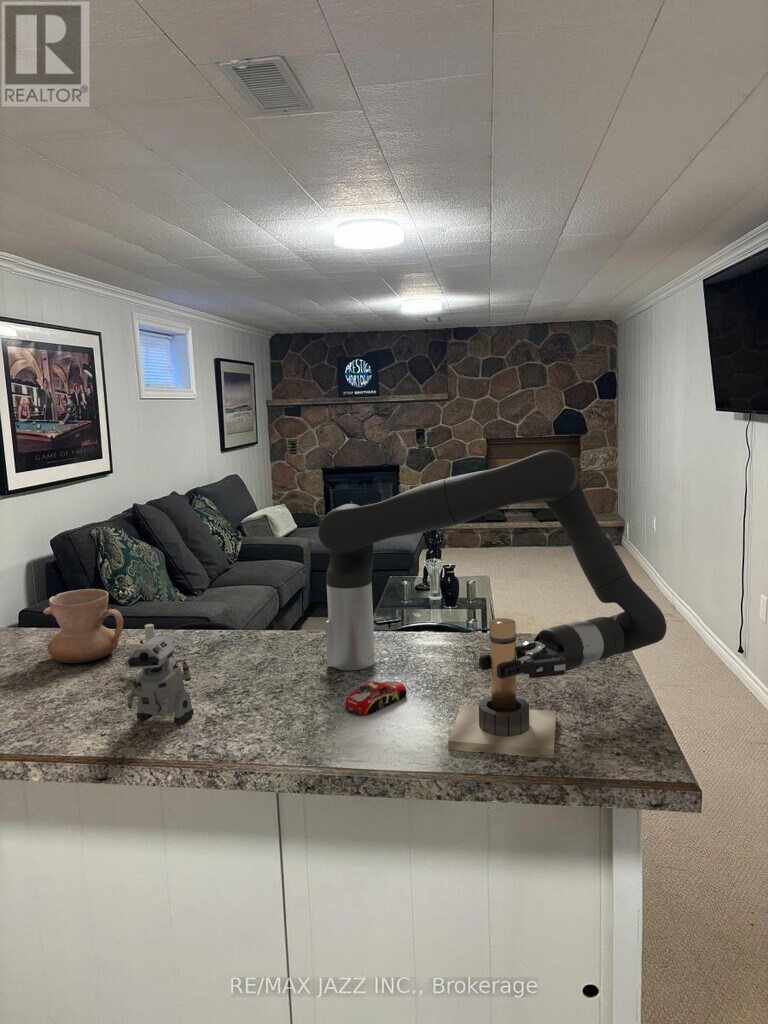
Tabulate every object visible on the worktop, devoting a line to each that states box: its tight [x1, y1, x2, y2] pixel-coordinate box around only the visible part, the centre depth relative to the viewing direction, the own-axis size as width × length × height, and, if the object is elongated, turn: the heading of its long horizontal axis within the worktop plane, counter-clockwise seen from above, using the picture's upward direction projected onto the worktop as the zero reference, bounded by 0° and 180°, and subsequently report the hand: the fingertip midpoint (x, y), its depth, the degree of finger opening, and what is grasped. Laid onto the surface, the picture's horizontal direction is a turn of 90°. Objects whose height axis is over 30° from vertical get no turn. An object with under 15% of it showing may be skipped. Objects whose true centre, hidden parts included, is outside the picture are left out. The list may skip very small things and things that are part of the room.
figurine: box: [124, 634, 195, 726], centre depth 130 cm, size 9×12×15 cm
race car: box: [344, 681, 408, 715], centre depth 136 cm, size 13×5×4 cm, turn 136°
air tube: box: [488, 617, 517, 712], centre depth 121 cm, size 4×4×16 cm
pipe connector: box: [128, 623, 156, 655], centre depth 156 cm, size 10×10×10 cm
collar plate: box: [447, 695, 557, 760], centre depth 122 cm, size 16×14×5 cm
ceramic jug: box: [43, 588, 124, 664], centre depth 166 cm, size 18×14×14 cm
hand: (489, 667), depth 119 cm, fingers closed on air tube, 4 cm apart
